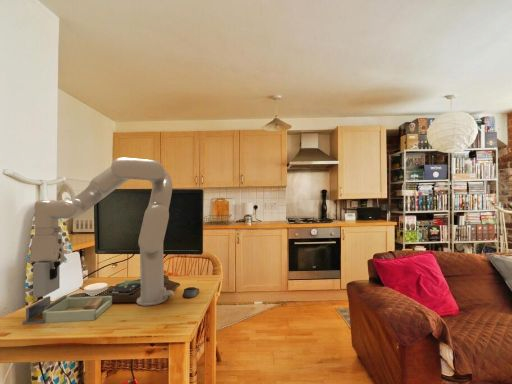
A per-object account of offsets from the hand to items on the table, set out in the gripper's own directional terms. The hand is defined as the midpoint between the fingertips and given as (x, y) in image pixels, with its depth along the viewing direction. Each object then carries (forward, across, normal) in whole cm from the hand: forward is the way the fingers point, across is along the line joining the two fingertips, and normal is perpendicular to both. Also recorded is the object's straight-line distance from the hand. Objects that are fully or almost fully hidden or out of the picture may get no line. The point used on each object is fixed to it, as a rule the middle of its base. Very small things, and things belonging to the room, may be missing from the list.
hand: (46, 278), depth 108 cm
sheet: (+5, 0, 0) cm, 5 cm away
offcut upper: (+12, -17, 0) cm, 21 cm away
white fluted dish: (+14, -7, -24) cm, 29 cm away
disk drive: (+15, -21, -26) cm, 36 cm away
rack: (+14, -12, 0) cm, 19 cm away
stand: (+14, 0, 0) cm, 14 cm away
